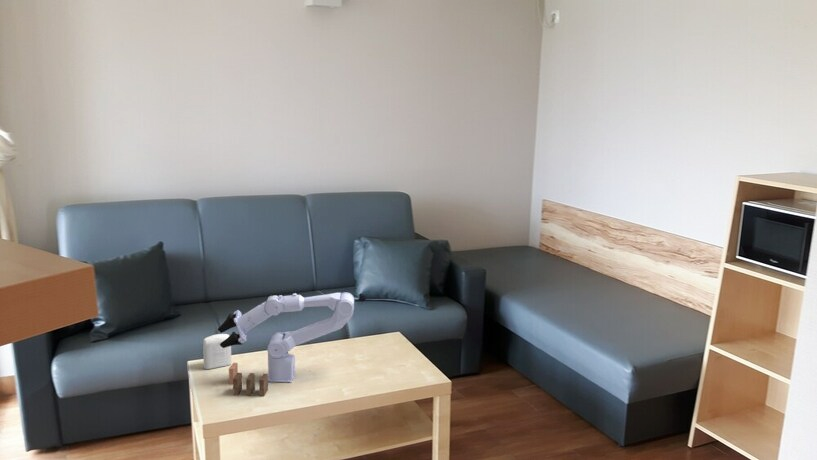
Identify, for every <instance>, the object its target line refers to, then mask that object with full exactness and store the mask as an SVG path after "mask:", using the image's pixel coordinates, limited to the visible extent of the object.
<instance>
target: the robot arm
mask: <svg viewBox="0 0 817 460" xmlns="http://www.w3.org/2000/svg"><path fill="white" fill-rule="evenodd" d="M307 307H308V308H309V307H313V308H314V307H328V308H329V309H330V310H332V311H334V312H333V314H332V316H330V317H327V318H325V319H323V320H320V321H317V322H314V323H312V324H309V325H306V326H304V327H302V328H298V329H297V330H293V331H288V330H287V331H285V332H275V333H273V335H272V336H271V337H270V341H269V344H268V346H267V349H266V351H267V371H268V372H267V374H268V383H269V382H270V383H271V382H276V383H277V382H278V383H292V381H293V379H294V377H295V376H296V374H297V373H296V356H295V355H294V354H292V353H289V352H290V351H291V350H292V349H294V348H295V347H297V346H298V345H302V344H304V343H306V342H309V341H312V340H315V339H317V338H320V337H323V336H325V335H328V334H331V333H333V332H336V331H339V330H341V329H343V327H344V326H345V325H346V324H347V322H349V320H350V319H351V318H352V317H353V315H354V310H355V297H354V295H353V294H352V293H350V292H348V291H347V292H334V293H333V292H332V293H327V294H319V295H313V296H305V297H304V296H302V295H301V294H297V293H296V292H295V293H292V294H291V295H282V294H279V295H270V296H268V298H267V299H266V301H264V302H262V303H260V304H257V305H256V306H255V307H254V308H252V309H251V310H249V311H247V312H245V313H244V314H242V312H241V311H240V310H239V309H237V310H235V311H234V312H233V314H232V313H229V314H228V315H227V317H226V319H225V320H224V321H223V323H222V324H221V325H219V327H218V328H217V331H218V332H219V333H220V334H223V333H225V332H226V331H228V330H230V329H232V328H235V327H236V328H237V329H236V330H237V333H238V334H237V333H236V332H235V331H232V333H230V335H229V337H228V338H227V339H226V340H224V341H223V342H221V343H220V346H221V347H222V348H226V347H229V346H231V347H232V346H238V345H239V346H241V345H243V344H244V343H245V342H247V335H248V332H249V331H251V330H252V329H254V328H255V327H257V326H258V325H259V324H261V323H263V322H264V321H266V320H268V319H269V318H270V317H272V316H275V317H276V316H278V315H280V314H281V313H291V312H302V311H303V309H304V308H307Z"/></svg>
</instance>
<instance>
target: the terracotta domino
mask: <svg viewBox="0 0 817 460" xmlns="http://www.w3.org/2000/svg"><path fill="white" fill-rule="evenodd" d="M238 369H239V367H238V362H233V363H231V365H229V368H228V379H229V380H228V383H229V385H231V386H233V378H234V377H235V375H236V374H237V373H239V372H238V371H239V370H238Z"/></svg>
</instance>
